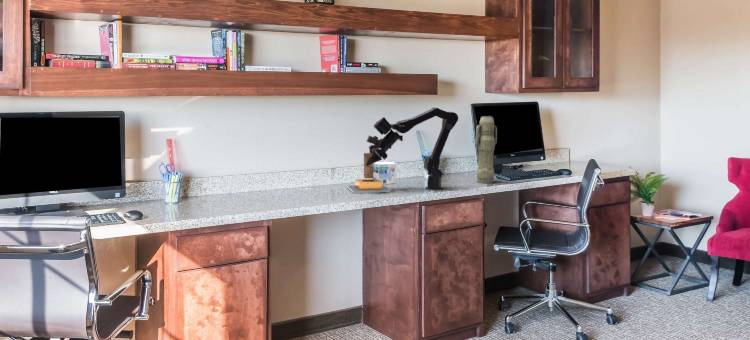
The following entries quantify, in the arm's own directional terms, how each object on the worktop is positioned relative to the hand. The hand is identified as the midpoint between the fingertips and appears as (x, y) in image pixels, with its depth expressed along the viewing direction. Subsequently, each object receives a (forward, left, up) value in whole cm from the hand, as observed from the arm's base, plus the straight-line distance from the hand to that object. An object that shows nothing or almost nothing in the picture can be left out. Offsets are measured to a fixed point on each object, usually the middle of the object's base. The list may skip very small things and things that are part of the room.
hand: (365, 164), depth 341 cm
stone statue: (-68, +16, -13) cm, 71 cm away
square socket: (-1, +1, -13) cm, 13 cm away
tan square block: (-1, +1, -7) cm, 7 cm away
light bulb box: (-23, -14, -13) cm, 30 cm away
